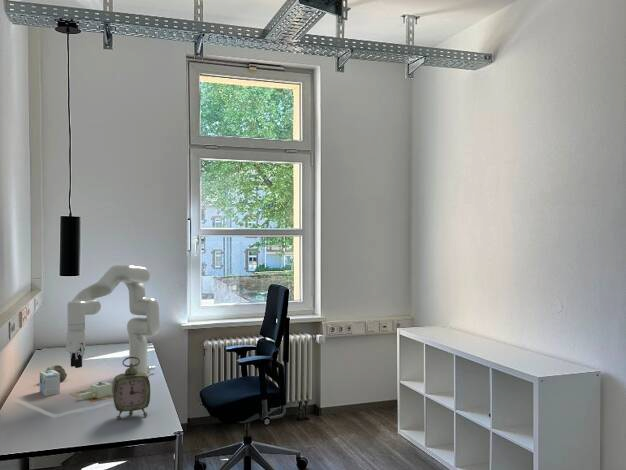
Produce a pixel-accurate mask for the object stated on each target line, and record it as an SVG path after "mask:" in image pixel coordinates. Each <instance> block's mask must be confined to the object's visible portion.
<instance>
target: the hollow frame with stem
mask: <svg viewBox="0 0 626 470" xmlns="http://www.w3.org/2000/svg"><path fill="white" fill-rule="evenodd" d="M102 382H103V385H101V386H99V382H97V383H93V384H90V385H89V387H90V388H89V389H90V392H86V393H81V394H78V398H77V399H78V401H85V399H89V398H93V393H96V398H100V397H105V396H109V395H112V385H113V383H110V382H106V381H102Z"/></svg>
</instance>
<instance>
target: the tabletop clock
mask: <svg viewBox="0 0 626 470" xmlns="http://www.w3.org/2000/svg"><path fill="white" fill-rule="evenodd" d="M130 358H135V359H137V360H138V361H139V363H140V360H139V359H138V358H137V357H129V356H128V357H125V358H124V359H123V361H122V366H124V367H126V369H125V371H124V373H120V374H117V375H115V376H114V379H113V382H112V385H113V398H112V399H113V403H114V408H115V409H116V411H118V412H119V414H118V415H117V416H116V420H118V421H119V420H120V419H121V416H122V415H121V414H122V412H124V413H125V412H128V415H129V416H132V415H133V414H134V413H133V411H134V412H135V411H142V412H143V414H142V415H143V416H144V417H147V416H148V412H146V411H145V409H146V408H148V407H149V405H150V401H151V384H150V383H151V382H150V379H149V376H147V375H146V374H145V373H143V372H137V370H136V368H134V366H137V365H138V364H139V363H137V364H135V365H133V364H132V363H131V364H130V365H127V364H125V362H126V360H129V359H130ZM129 367H130V368H129Z"/></svg>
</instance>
